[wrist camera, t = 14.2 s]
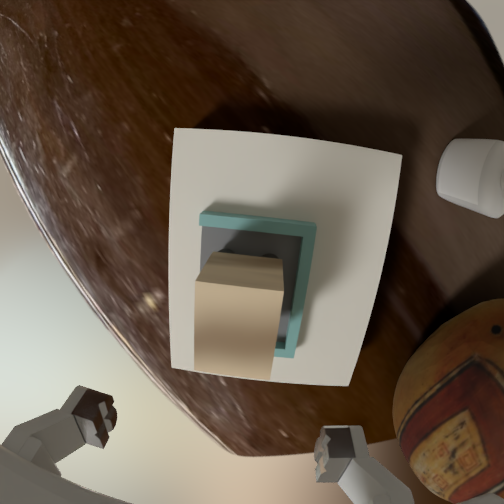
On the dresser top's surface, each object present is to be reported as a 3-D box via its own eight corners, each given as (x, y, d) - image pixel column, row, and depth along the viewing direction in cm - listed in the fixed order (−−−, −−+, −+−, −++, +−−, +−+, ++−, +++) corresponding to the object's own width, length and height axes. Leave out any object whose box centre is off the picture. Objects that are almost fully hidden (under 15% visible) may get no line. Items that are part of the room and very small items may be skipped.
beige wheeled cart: (217, 244, 23) (195, 281, 16) (281, 251, 22) (284, 291, 16) (212, 317, 25) (194, 370, 18) (271, 325, 24) (269, 380, 18)
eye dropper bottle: (419, 170, 24) (506, 189, 12) (457, 132, 22) (550, 133, 11) (445, 208, 25) (530, 247, 13) (481, 170, 23) (571, 191, 12)
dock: (189, 131, 24) (169, 127, 19) (384, 153, 24) (408, 155, 19) (182, 343, 31) (167, 375, 26) (341, 360, 30) (350, 394, 25)
